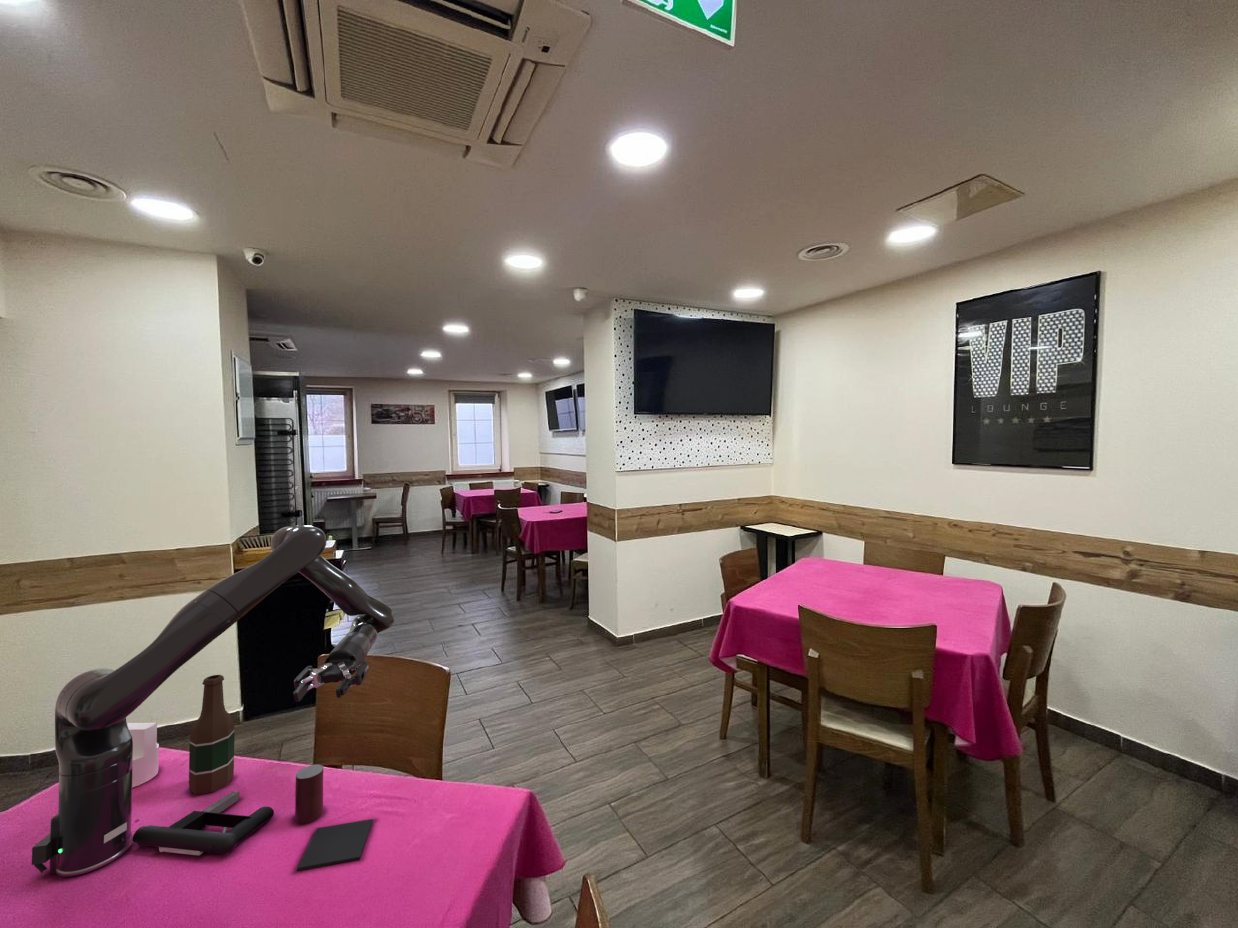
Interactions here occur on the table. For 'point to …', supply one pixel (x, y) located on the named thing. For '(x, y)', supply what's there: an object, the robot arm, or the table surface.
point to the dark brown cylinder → (309, 794)
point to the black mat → (336, 844)
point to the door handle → (195, 841)
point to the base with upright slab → (144, 752)
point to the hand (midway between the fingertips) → (317, 696)
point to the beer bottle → (211, 742)
